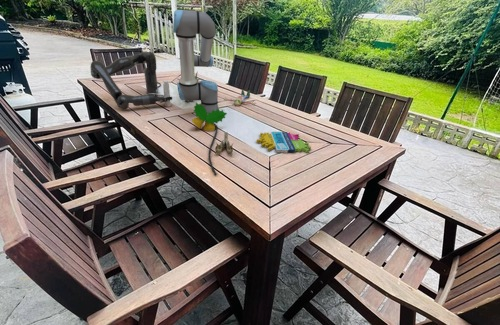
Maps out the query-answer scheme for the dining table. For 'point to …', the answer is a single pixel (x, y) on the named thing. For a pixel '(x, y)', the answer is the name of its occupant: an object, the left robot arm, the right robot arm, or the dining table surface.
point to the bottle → (166, 92)
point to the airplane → (195, 78)
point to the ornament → (207, 117)
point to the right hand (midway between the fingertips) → (189, 101)
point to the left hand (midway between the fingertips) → (170, 97)
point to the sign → (283, 142)
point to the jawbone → (224, 145)
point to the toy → (241, 99)
